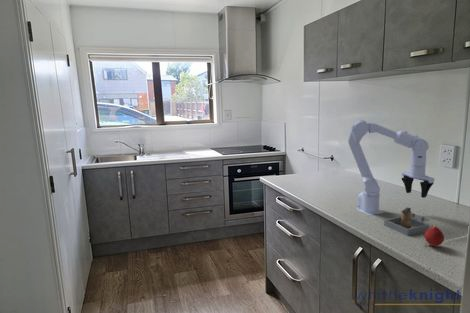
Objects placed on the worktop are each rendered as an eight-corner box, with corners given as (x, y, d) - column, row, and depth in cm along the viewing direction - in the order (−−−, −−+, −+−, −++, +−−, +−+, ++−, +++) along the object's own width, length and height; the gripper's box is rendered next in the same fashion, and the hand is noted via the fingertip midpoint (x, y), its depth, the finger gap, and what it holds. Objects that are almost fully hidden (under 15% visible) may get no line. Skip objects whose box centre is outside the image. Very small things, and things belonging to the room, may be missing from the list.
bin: (384, 226, 129) (384, 219, 128) (404, 222, 133) (404, 215, 132) (407, 237, 118) (407, 229, 118) (428, 231, 122) (428, 224, 122)
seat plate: (397, 217, 138) (397, 214, 137) (412, 214, 141) (412, 211, 140) (415, 224, 129) (415, 221, 129) (430, 221, 132) (431, 217, 132)
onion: (435, 242, 113) (437, 222, 112) (447, 249, 107) (449, 228, 106) (420, 243, 113) (422, 222, 112) (430, 250, 107) (432, 229, 106)
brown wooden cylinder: (398, 228, 125) (399, 209, 124) (403, 224, 128) (404, 206, 127) (408, 230, 123) (408, 212, 121) (412, 227, 126) (413, 208, 124)
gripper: (440, 167, 130) (437, 198, 132) (410, 161, 143) (408, 189, 146) (428, 169, 127) (426, 200, 130) (398, 163, 141) (397, 191, 143)
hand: (416, 194), depth 138 cm, fingers open, 7 cm apart
